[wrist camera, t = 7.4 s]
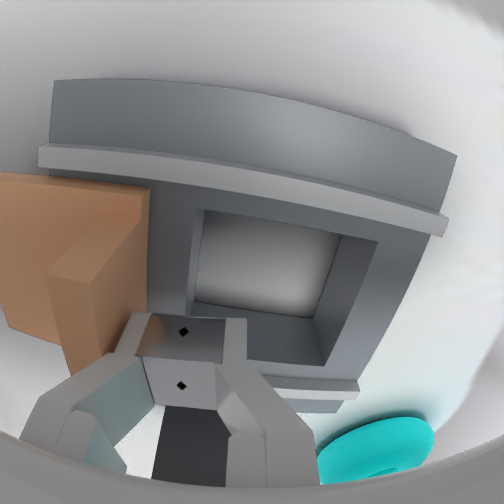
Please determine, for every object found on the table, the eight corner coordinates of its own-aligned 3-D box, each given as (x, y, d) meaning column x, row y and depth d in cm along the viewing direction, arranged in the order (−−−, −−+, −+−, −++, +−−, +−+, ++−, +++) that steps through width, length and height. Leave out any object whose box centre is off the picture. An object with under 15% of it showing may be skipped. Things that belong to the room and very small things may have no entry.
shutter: (147, 351, 11) (121, 437, 7) (17, 315, 10) (-27, 376, 7) (151, 188, 8) (87, 253, 5) (-8, 171, 7) (-87, 213, 4)
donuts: (363, 557, 15) (296, 565, 11) (349, 473, 24) (287, 451, 20) (471, 515, 12) (447, 522, 8) (439, 427, 21) (403, 393, 17)
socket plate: (325, 368, 16) (337, 423, 12) (100, 333, 14) (75, 384, 11) (413, 139, 10) (468, 159, 7) (98, 81, 9) (43, 81, 6)
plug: (234, 420, 18) (230, 542, 10) (172, 411, 18) (152, 532, 10) (244, 384, 16) (243, 532, 8) (172, 374, 16) (144, 519, 8)
